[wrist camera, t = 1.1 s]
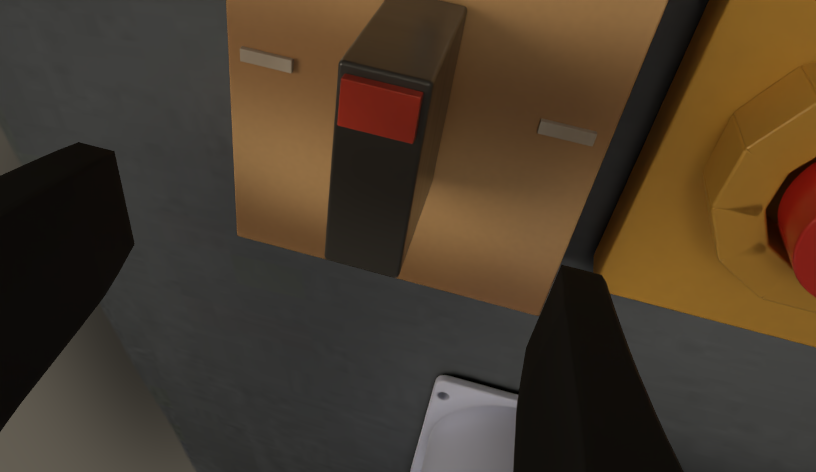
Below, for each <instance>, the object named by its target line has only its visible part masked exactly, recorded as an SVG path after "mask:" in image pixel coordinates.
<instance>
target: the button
mask: <svg viewBox="0 0 816 472" xmlns="http://www.w3.org/2000/svg"><path fill="white" fill-rule="evenodd" d="M777 221H778V227H779V230H780V233H781V236H782V239H783V242H784V245H785V248H786V251H787V254H788V257H789V259H790V262H791V265H792V268H793V271H794V274H795V276H796V278H797V280H798V281H799V283H800V284H801V285H802V287H803V288H804V289H805V290H806V291H807V292H809V293H810V294H811V295H812V296H814V297H816V161H815V162H814V163H812V164H811V165H809V166H808V167H807V168H806V169H804V170H803V171H802V172H801V173H800V174H799V175H798V176H797V177H796V178H795V179H794V180H793V181H792V182H791V184H790V185H789V186H788V188H787V189H786V191H785V193H784V194H783V196H782V199H781V201H780V204H779V208H778V214H777Z"/></svg>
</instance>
